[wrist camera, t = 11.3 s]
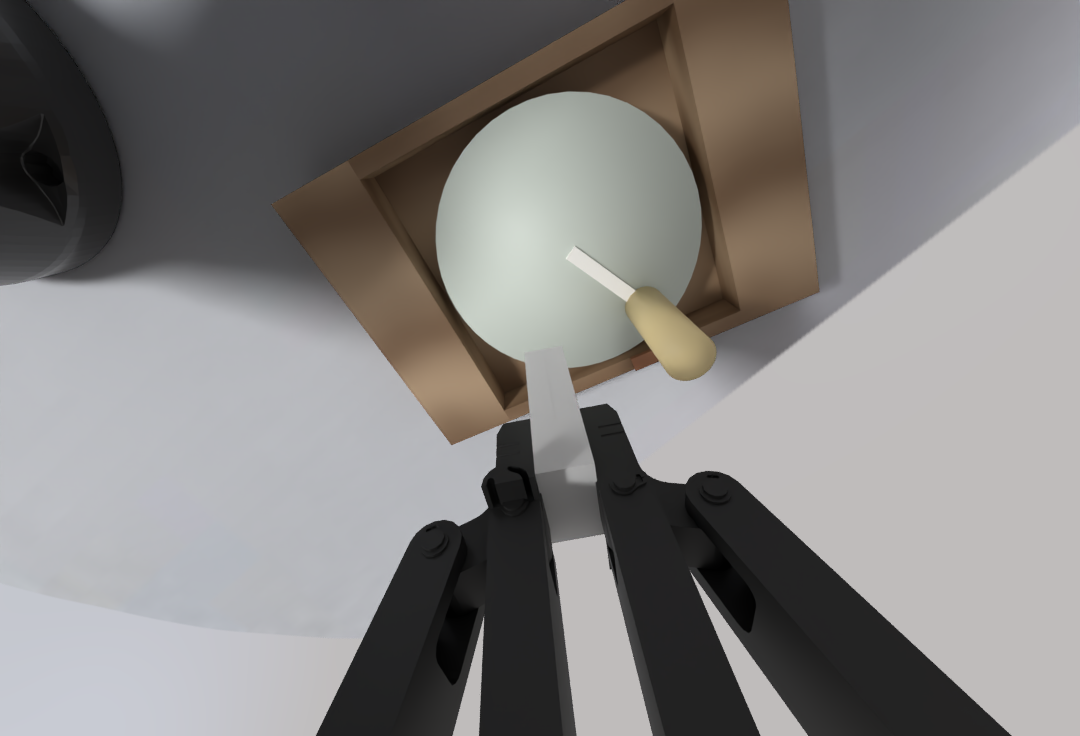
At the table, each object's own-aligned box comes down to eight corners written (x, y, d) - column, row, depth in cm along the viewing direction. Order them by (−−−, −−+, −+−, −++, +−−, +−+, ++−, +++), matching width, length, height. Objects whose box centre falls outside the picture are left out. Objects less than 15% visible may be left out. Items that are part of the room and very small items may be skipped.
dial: (586, 389, 24) (614, 478, 18) (398, 278, 20) (340, 338, 14) (739, 210, 20) (855, 239, 13) (533, 23, 16) (548, -77, 9)
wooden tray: (312, 196, 20) (267, 205, 17) (724, -37, 17) (783, -92, 13) (459, 407, 27) (451, 447, 23) (774, 271, 24) (822, 293, 20)
